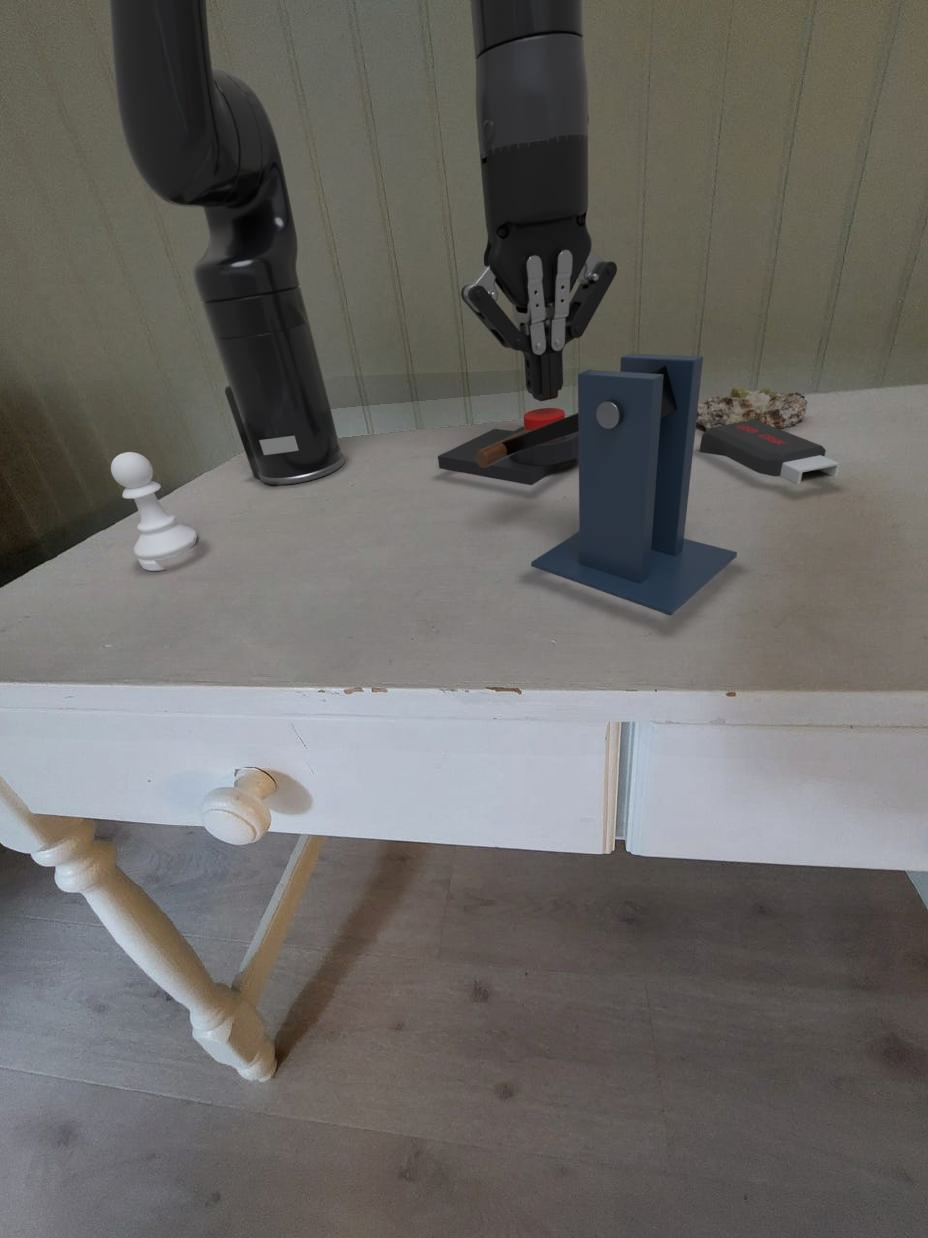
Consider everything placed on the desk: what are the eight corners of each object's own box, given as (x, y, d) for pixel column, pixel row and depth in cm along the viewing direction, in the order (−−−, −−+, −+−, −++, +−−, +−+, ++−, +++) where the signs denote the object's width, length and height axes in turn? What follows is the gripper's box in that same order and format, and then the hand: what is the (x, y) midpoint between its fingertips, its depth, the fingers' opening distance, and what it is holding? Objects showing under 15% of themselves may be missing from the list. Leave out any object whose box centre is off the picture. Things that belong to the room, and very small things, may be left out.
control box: (440, 477, 56) (434, 437, 54) (496, 448, 61) (492, 410, 59) (549, 499, 49) (547, 453, 46) (601, 464, 54) (602, 421, 52)
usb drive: (750, 442, 54) (755, 413, 52) (845, 485, 44) (854, 450, 42) (698, 452, 53) (702, 423, 51) (783, 498, 43) (790, 463, 42)
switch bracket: (531, 578, 38) (518, 377, 31) (600, 532, 42) (603, 346, 35) (669, 630, 32) (693, 391, 24) (734, 569, 36) (771, 351, 29)
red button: (517, 440, 51) (515, 417, 50) (539, 428, 53) (538, 406, 52) (550, 445, 49) (549, 421, 48) (573, 432, 51) (572, 409, 50)
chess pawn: (157, 577, 45) (102, 469, 40) (131, 563, 48) (78, 460, 43) (213, 551, 48) (170, 446, 43) (186, 539, 51) (142, 439, 46)
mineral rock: (709, 419, 53) (691, 376, 58) (699, 458, 57) (683, 414, 62) (830, 410, 52) (801, 368, 57) (813, 451, 56) (787, 407, 61)
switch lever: (482, 478, 39) (469, 444, 38) (528, 455, 42) (517, 423, 41) (642, 428, 29) (628, 380, 28) (690, 402, 31) (679, 358, 31)
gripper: (589, 139, 44) (590, 376, 54) (428, 160, 41) (459, 405, 51) (646, 119, 38) (636, 390, 47) (461, 141, 35) (490, 424, 45)
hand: (544, 398), depth 49 cm, fingers closed
